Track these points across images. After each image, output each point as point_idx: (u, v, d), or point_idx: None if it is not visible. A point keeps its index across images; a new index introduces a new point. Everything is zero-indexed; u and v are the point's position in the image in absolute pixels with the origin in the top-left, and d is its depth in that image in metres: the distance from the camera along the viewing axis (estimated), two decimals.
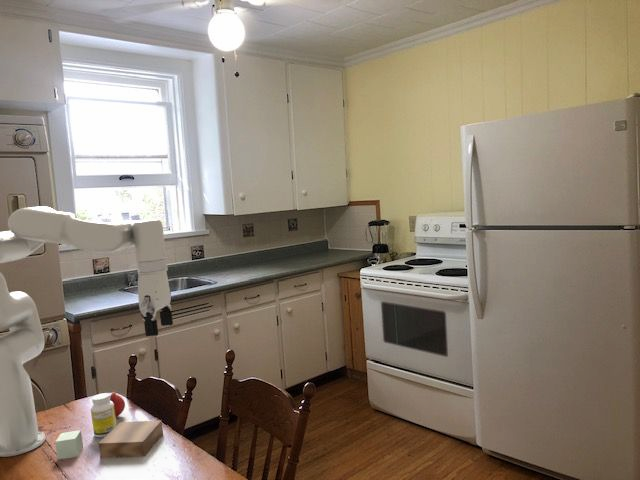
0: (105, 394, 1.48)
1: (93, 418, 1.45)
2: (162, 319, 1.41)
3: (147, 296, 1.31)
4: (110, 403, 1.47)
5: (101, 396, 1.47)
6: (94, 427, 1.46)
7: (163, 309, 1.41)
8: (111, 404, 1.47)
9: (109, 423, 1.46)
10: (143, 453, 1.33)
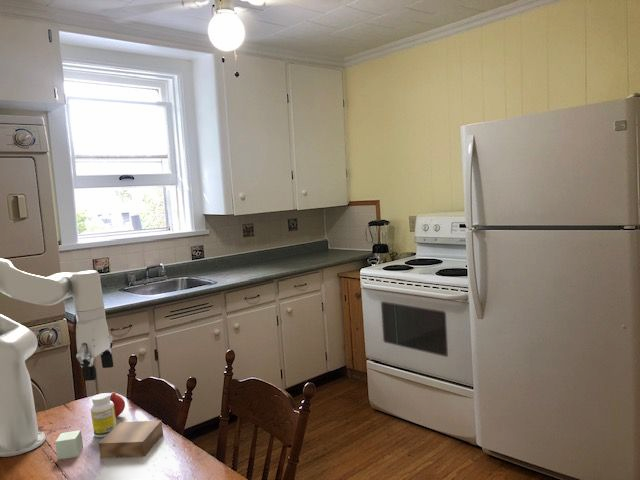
0: (105, 394, 1.48)
1: (93, 418, 1.45)
2: (103, 362, 1.51)
3: (84, 344, 1.41)
4: (110, 403, 1.47)
5: (101, 396, 1.47)
6: (94, 427, 1.46)
7: (104, 352, 1.51)
8: (111, 404, 1.47)
9: (109, 423, 1.46)
10: (143, 453, 1.33)
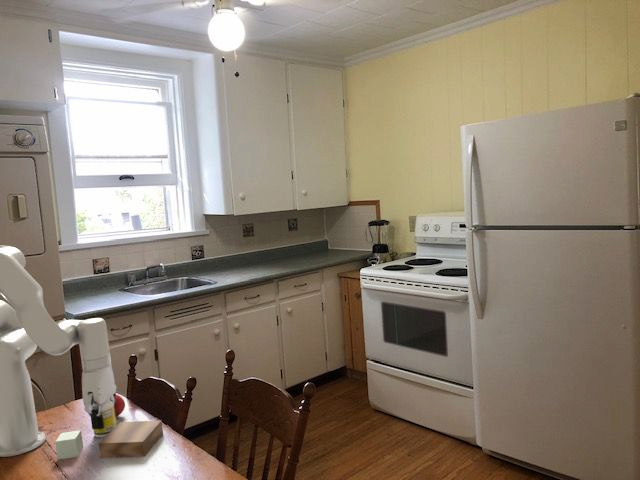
0: None
1: None
2: None
3: (90, 394, 1.42)
4: (110, 403, 1.47)
5: None
6: None
7: None
8: (111, 404, 1.47)
9: (109, 423, 1.46)
10: (143, 453, 1.33)
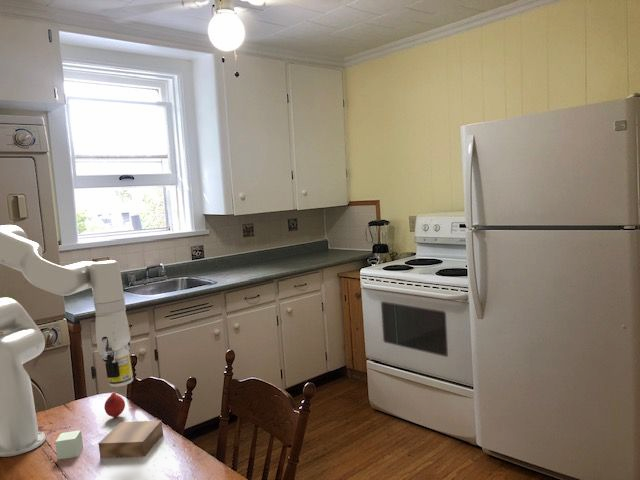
0: None
1: None
2: None
3: (105, 339, 1.33)
4: (126, 350, 1.38)
5: None
6: None
7: None
8: (127, 352, 1.38)
9: (126, 371, 1.37)
10: (143, 453, 1.33)
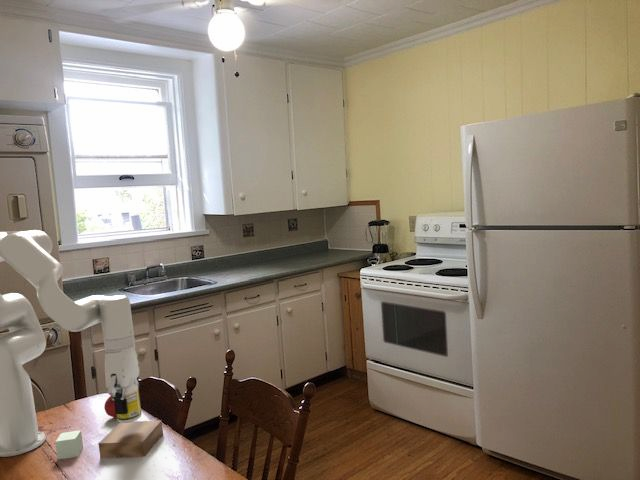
0: None
1: None
2: None
3: (114, 376, 1.32)
4: (134, 386, 1.37)
5: None
6: None
7: None
8: (135, 387, 1.37)
9: (134, 407, 1.36)
10: (143, 453, 1.33)
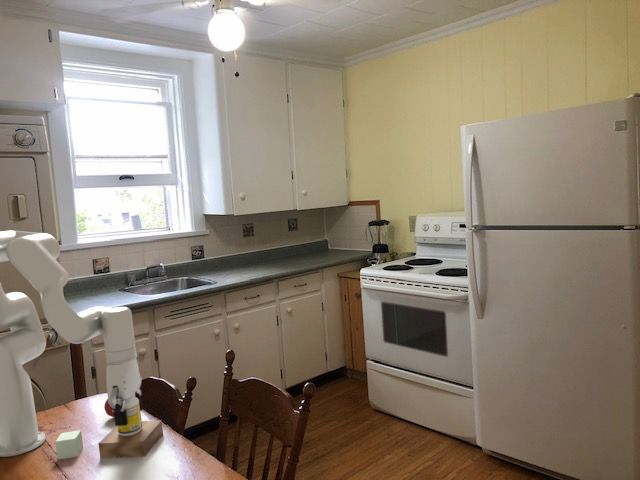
0: None
1: None
2: None
3: (115, 387, 1.32)
4: (135, 399, 1.38)
5: None
6: None
7: None
8: (136, 401, 1.37)
9: (135, 421, 1.36)
10: (143, 453, 1.33)
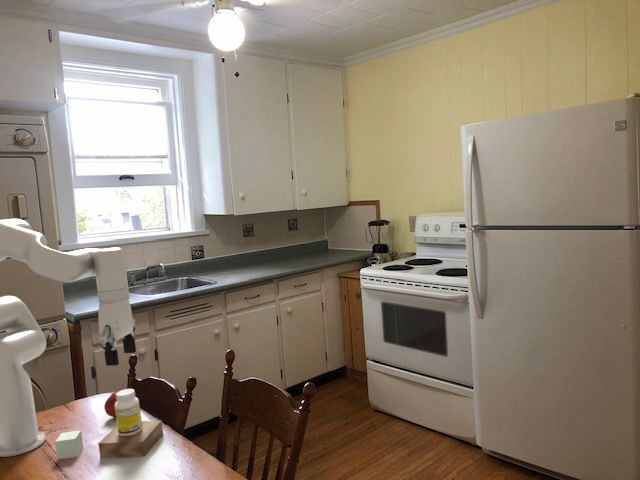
0: (129, 390, 1.38)
1: (117, 415, 1.36)
2: (125, 347, 1.41)
3: (107, 326, 1.31)
4: (135, 399, 1.38)
5: (126, 392, 1.37)
6: (118, 425, 1.36)
7: (126, 337, 1.41)
8: (136, 401, 1.37)
9: (135, 421, 1.36)
10: (143, 453, 1.33)
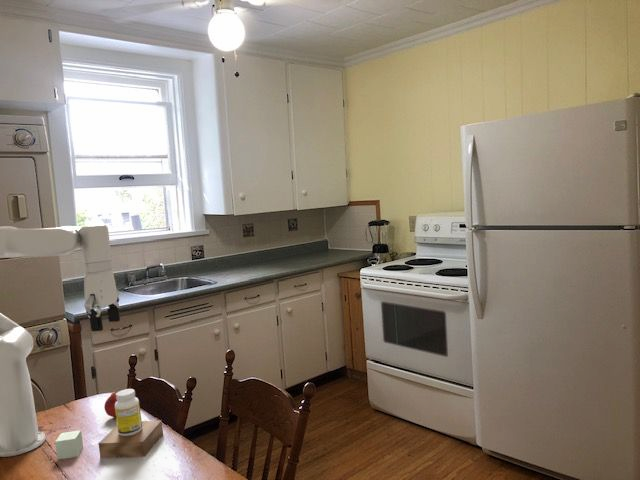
0: (129, 390, 1.38)
1: (117, 415, 1.36)
2: (110, 316, 1.53)
3: (92, 294, 1.43)
4: (135, 399, 1.38)
5: (126, 392, 1.37)
6: (118, 425, 1.36)
7: (110, 306, 1.53)
8: (136, 401, 1.37)
9: (135, 421, 1.36)
10: (143, 453, 1.33)
